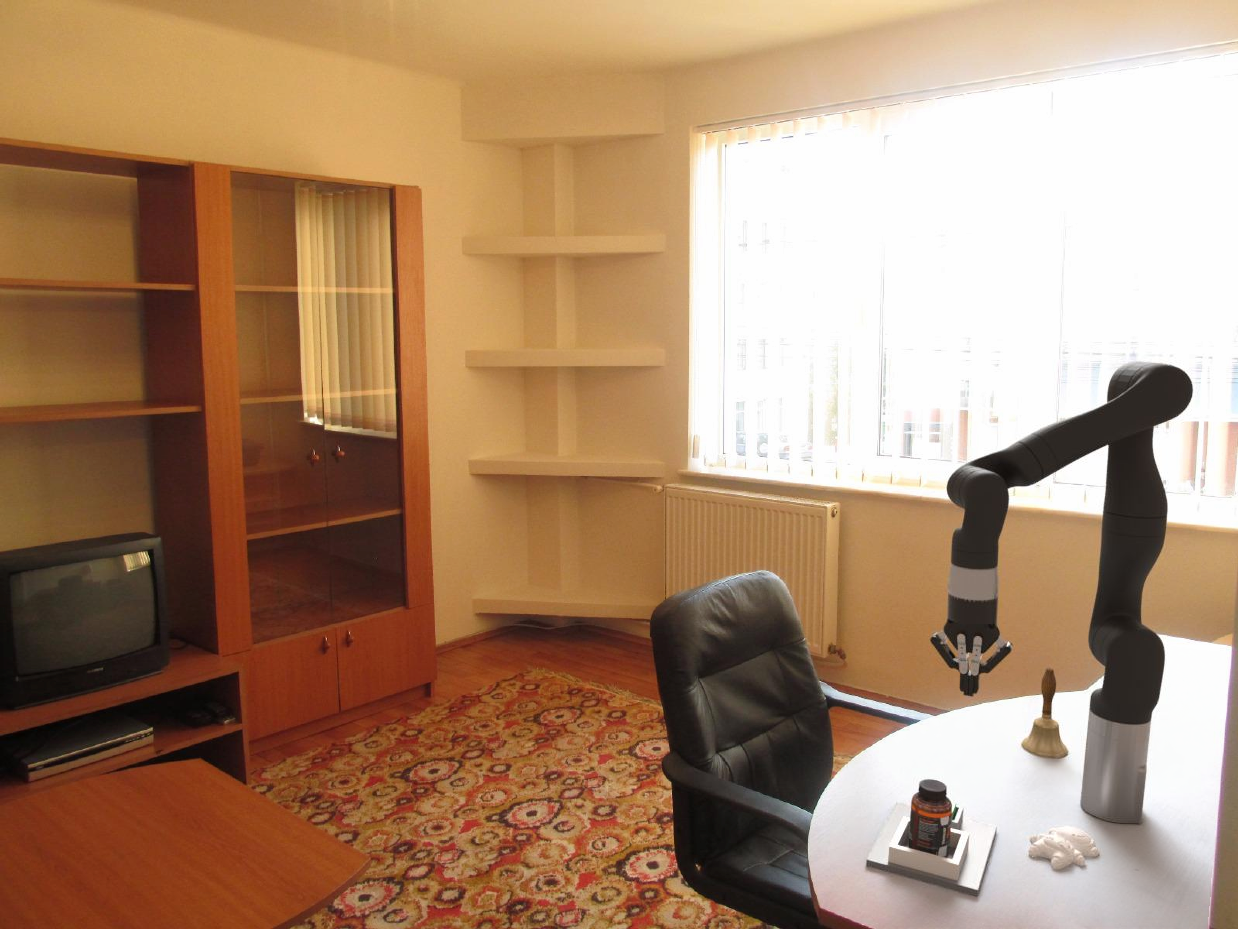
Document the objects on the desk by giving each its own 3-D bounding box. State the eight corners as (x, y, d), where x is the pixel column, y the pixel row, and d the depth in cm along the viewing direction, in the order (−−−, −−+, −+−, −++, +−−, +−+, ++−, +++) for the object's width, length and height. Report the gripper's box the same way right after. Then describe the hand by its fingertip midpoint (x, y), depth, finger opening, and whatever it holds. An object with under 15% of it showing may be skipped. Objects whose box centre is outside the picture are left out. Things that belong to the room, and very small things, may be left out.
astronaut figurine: (1013, 848, 154) (1014, 831, 153) (1063, 829, 160) (1064, 812, 159) (1062, 877, 146) (1063, 858, 146) (1112, 856, 152) (1114, 838, 152)
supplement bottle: (954, 865, 147) (959, 795, 145) (914, 865, 147) (919, 794, 145) (941, 843, 153) (946, 775, 151) (903, 843, 153) (907, 775, 151)
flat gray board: (996, 832, 158) (997, 811, 158) (977, 896, 141) (979, 874, 140) (895, 807, 166) (897, 787, 165) (866, 865, 148) (867, 844, 148)
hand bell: (1021, 753, 186) (1027, 673, 184) (1021, 736, 194) (1027, 659, 191) (1068, 761, 183) (1076, 680, 181) (1067, 743, 191) (1074, 665, 188)
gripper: (1019, 590, 157) (1014, 692, 159) (934, 580, 163) (930, 680, 165) (1015, 603, 150) (1010, 710, 153) (926, 593, 156) (922, 696, 159)
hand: (968, 694), depth 159 cm, fingers closed
